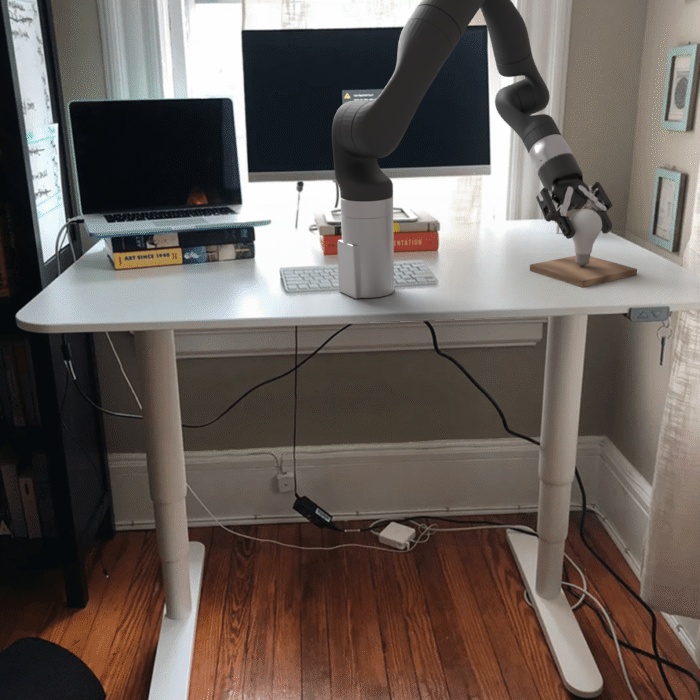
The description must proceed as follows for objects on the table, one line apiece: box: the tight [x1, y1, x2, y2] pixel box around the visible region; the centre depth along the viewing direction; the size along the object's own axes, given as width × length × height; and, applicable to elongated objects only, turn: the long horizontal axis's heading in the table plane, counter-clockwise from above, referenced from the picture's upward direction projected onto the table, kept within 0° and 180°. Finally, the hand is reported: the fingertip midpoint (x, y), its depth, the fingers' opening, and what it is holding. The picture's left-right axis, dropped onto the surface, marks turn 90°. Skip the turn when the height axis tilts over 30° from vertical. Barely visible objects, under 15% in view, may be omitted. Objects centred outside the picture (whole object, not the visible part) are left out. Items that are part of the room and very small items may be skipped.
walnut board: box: [529, 255, 638, 288], centre depth 153 cm, size 14×14×1 cm
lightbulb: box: [569, 209, 602, 266], centre depth 151 cm, size 6×6×11 cm
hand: (590, 233), depth 149 cm, fingers open, 8 cm apart
